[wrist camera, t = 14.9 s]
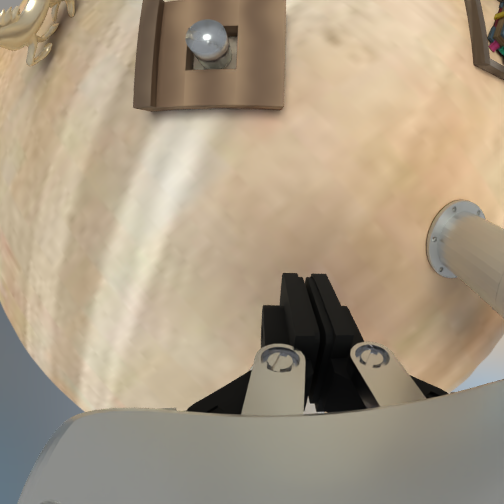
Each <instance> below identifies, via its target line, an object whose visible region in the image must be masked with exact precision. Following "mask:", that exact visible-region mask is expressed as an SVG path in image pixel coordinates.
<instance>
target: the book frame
mask: <svg viewBox="0 0 504 504" xmlns="http://www.w3.org/2000/svg"><path fill="white" fill-rule="evenodd" d="M464 1H465V5H466V10H467V16H468V22H469V28H470V35H471V43H472V52H473V63H474V65H475V66H477V67H479V68H481V69H483V70H485V71H487V72H489V73H491V74H493V75H495V76H497V77H499V78H501V79H502V80H504V66H502V65H501V64H499V63H497V62H495V61H494V60H492V59H490V56H489V48H488V40H487V34H486V27H485V22H484V17H483V12H482V7H481V2H480V0H464ZM498 1H499V2H504V0H498Z"/></svg>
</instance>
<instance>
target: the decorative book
mask: <svg viewBox="0 0 504 504" xmlns="http://www.w3.org/2000/svg"><path fill="white" fill-rule="evenodd" d="M499 8H500V9H499V12H498V14H495V17H494V19H495V20H496V21H495V24H494V26H493V27H492V29H491V31H490V34H489V36H488V39H489V41H490V42H491V43H492V44H491V45H490V46H489V48H490V49H491V50H492V51H493V52H494V51H495V50H496V49H497V50H498V51H499V52H500V53H501V55H503V56H504V2H500V5H499Z"/></svg>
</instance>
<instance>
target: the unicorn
mask: <svg viewBox="0 0 504 504" xmlns="http://www.w3.org/2000/svg"><path fill="white" fill-rule="evenodd" d="M61 1H65V2H66V4H67V10H68V14H69V16H70V17H73V16H74V14H75V7H74V0H28V3H27V5H26V7H25V8H24V10H23V12H22V13H21V14H20V9H19V7H18V6H16V7H15V8H14V9H13V10H12V11H11V8H12V7H10V8H9V9H8V10H7V11H6V12H5V10H4V9H3V10H2V12H1V14H0V47H2V48H5V49H8V50H11V51H17V50H19V49H21V48H23V47H24V46H28V55H27V60H26V63H27V65H28V66H33V65H35V64H37V63H38V62H39V61H40V60H42V59H43V58H45V57H46V56H47V55H48V54H49V52H50V51H51V48H52V43H48V44H47V45H46V46H45V47H44V49H43V51H42V52H41V53H40V54H39V55H38V56H37V57H36V58H34V56H35V52H36V48H37V42H44V41H45V40H46V39H47V38H48V37H49V36H50V35H52V34H53V33H54V32H55V31H56V29H57V27H58V25H59V23H55V24H53V25H51V27H50V28H49V30H48V31H47V32H46V33H45V34H44V35H43V36H42V37H39V36H37V35H36V33H37V32H38V30H39V29H40V27H41V25H42V24H43V22H44V20H45V17H46V15H47V12H48V9H49V7H50V8H51V7H52V20H53V22H55V21H56V19H57V12H58V8H59V5H60V3H61ZM18 9H19V10H18Z"/></svg>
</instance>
